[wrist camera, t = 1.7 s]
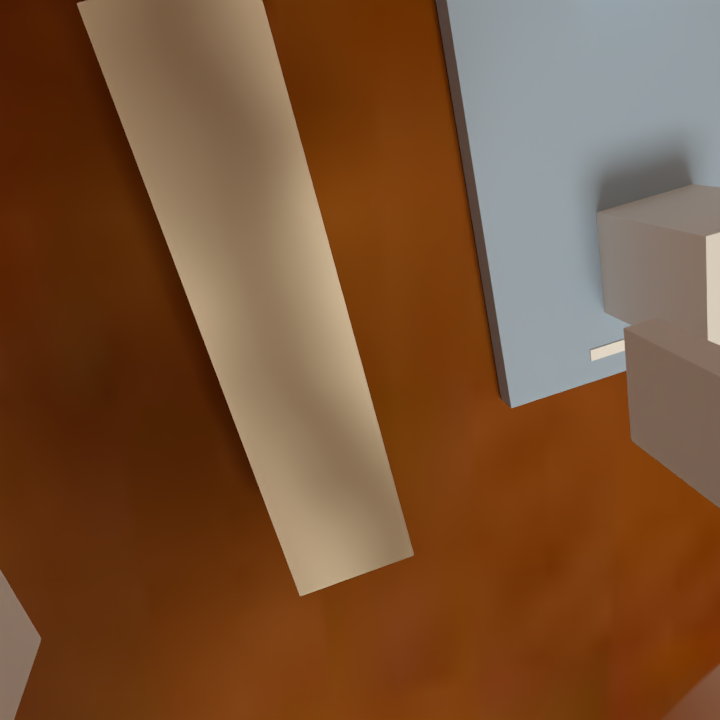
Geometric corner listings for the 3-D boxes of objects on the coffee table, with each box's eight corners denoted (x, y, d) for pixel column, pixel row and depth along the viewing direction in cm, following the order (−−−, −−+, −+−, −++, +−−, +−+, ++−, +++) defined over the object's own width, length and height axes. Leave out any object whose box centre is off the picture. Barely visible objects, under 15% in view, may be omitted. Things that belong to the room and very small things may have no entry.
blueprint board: (501, 398, 33) (587, 479, 25) (397, -230, 23) (490, -409, 15) (770, 311, 34) (926, 362, 27) (785, -306, 24) (1040, -500, 17)
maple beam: (283, 502, 32) (299, 596, 26) (113, 36, 24) (76, 3, 17) (374, 471, 33) (414, 555, 26) (241, 4, 24) (251, -40, 18)
